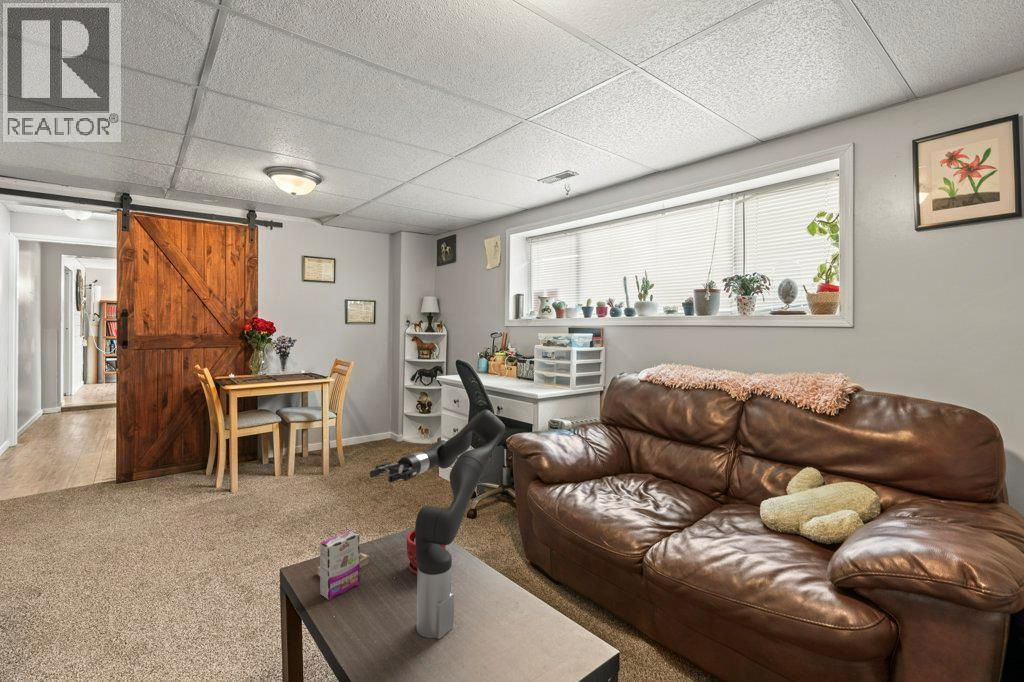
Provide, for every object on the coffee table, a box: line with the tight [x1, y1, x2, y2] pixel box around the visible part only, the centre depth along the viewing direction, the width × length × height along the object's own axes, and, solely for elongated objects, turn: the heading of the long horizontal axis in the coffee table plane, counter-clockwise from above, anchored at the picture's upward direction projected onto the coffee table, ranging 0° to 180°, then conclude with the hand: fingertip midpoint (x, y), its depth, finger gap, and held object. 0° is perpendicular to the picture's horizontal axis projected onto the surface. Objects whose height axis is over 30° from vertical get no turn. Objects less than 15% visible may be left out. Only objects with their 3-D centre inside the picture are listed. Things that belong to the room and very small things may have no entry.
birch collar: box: [316, 552, 370, 577], centre depth 159 cm, size 8×14×2 cm, turn 149°
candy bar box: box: [319, 529, 361, 601], centre depth 147 cm, size 11×5×16 cm, turn 144°
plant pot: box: [406, 529, 447, 575], centre depth 160 cm, size 13×13×12 cm
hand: (379, 476), depth 156 cm, fingers open, 8 cm apart
